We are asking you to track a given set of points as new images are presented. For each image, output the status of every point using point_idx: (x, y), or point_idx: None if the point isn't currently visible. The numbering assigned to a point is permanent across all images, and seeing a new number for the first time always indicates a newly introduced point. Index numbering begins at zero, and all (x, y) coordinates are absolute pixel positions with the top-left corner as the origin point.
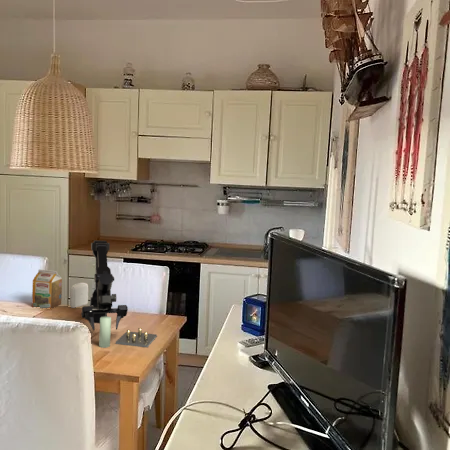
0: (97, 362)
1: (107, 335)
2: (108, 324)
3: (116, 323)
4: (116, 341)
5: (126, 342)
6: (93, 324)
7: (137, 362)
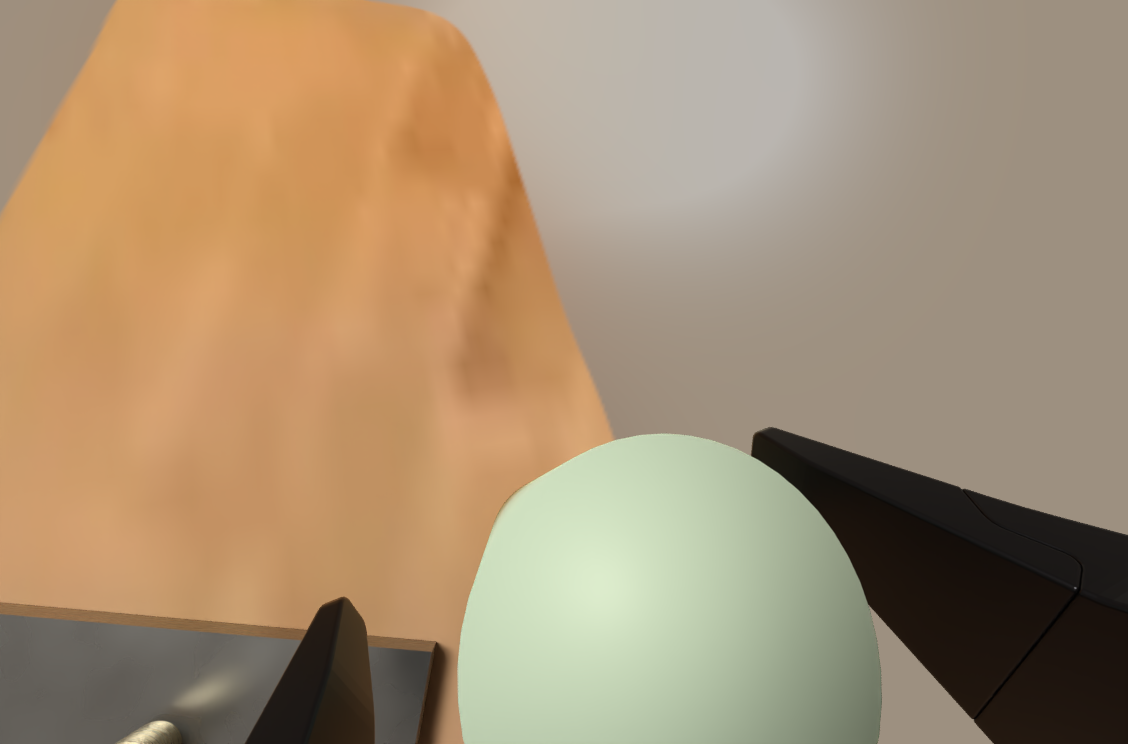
0: (508, 140)
1: (517, 492)
2: (515, 501)
3: (312, 712)
4: (421, 657)
5: (270, 651)
6: (852, 469)
7: (137, 157)
